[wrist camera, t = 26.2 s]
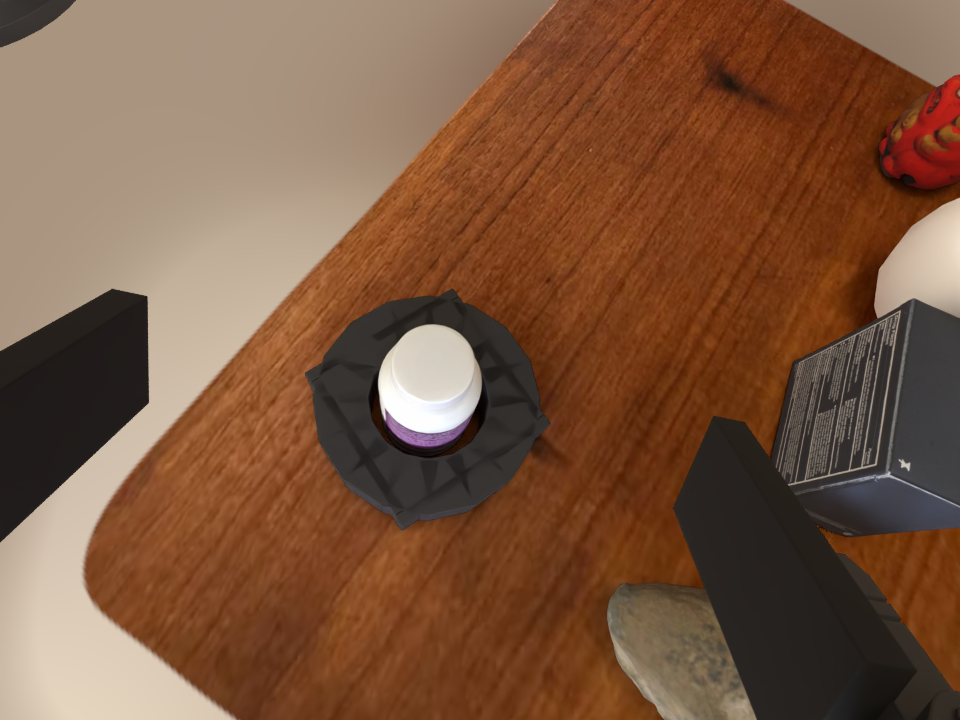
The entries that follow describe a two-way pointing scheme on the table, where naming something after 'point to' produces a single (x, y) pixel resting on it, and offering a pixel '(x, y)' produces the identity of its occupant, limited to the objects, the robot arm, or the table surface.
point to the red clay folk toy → (926, 140)
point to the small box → (877, 426)
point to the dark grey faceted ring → (412, 479)
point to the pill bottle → (428, 389)
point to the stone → (676, 652)
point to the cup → (924, 265)
